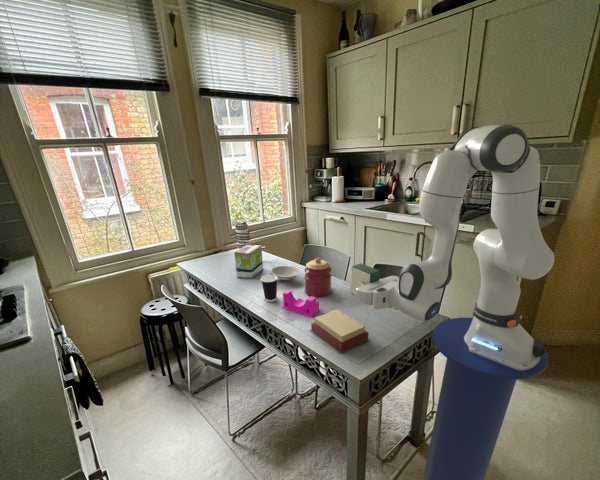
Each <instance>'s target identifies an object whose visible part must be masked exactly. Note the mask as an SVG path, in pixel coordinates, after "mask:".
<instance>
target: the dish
mask: <svg viewBox="0 0 600 480" xmlns="http://www.w3.org/2000/svg"><path fill="white" fill-rule="evenodd" d="M270 273H271V275H275V276H277V277H278V279H277V280H282V281H291V280H293V279H295V278H296V277H297V276H298V275H300V273H301V272H300V269H298V268H297V267H295V266H292V265H277V266H274V267H272V268H271V269H270Z"/></svg>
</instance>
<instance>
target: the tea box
mask: <svg viewBox="0 0 600 480" xmlns="http://www.w3.org/2000/svg"><path fill="white" fill-rule="evenodd" d="M234 261H235V272H236V277H237V278H244V279H245V278H246V279H253V278H254V277H255V276H256V275H257V274H259V273H260V272H261V271H262V270H263V269H264V263H263V249H262V245H257V244H250V245H245V246H244V247H242V248H240V249H239V250H238V249H237V250H236V251H234Z"/></svg>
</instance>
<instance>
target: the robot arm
mask: <svg viewBox="0 0 600 480" xmlns="http://www.w3.org/2000/svg"><path fill="white" fill-rule="evenodd" d="M529 142H530V141H529V139H528V135H527V134H526V133H525V131H524V130H522V129H521V128H520V127H517V126H515V125H511V124H504V125H503V124H488V125H487V124H486V125H483V126H475V127H472V128H469V129H467V130H465V131H464V132H462V133H461V134H460V135H459V136H458V137H457V139H456V140H455V142H454V143H453V145H452V146H451V147H450V149H448V150H445V151H442V152H439V154H438V155H436V156H435V157H434V159H433V161H432V163H431V166H430V168H429V170H428V172H427V175H426V178H425V180H424V183H423V187H422V191H421V194H420V198H419V203H418V212H419V214H420V215H419V216H420V217H421V218H422V219H423V220H424V222H426V223H427V224H428V225H430V226H432V228H433V229H434V233H435V235H434V240H433V246H432V251H431V255H430V256H429V258H428V259H426V260H423V261H415V262H412V263H407V264H405V265H404V266H403V267H402V268H401V270H400V272H399V276H397V275H390V276H387V277H383V278H379V280H378V281H375V282H373V283H370V284H367V285H364V282H362V281H361V282H358V286H359V288H356V290H355V296H354V297H355V299H356V300H357V301H359V302H361V303H362V304H365V305H368V306H372V308H373V309H375V310H381V309H394V310H396V311H401V312H402V313H403V314H404V315H406V316H409V317H410V318H413V319H416V320H419V321H424V322H426V321H430V320H431V319H433V318H434V317H435V316H436V315H437V314H438V313H439V311H440V309H441V302H440V300H439V299H438V298H437V295H436V292H435V290H441V289H444V288H445V287H447V286H448V285H449V284H450V282H451V280H452V276H453V267H452V266H453V265H452V260H453V256H454V251H455V246H456V243H457V238H458V234H459V228H460V213H461V208H462V204H463V201H464V197H465V194H466V190H467V188H468V184H469V182H470V180H471V178H473V176H474V175H475V174H476V173H477V172H478V171H480V172H482V171H485V172H490V173H491V176H492V186H491V202H490V204H491V205H490V217H491V220H492V222H493V223H494V225H495V226H496V228H487V229H484V230H482V231H480V232H479V234H477V236H476V237H475V239H474V241H473V246H472V248H473V251H474V253H475V255H476V257H477V259H478V264H479V271H480V287H479V292H478V297H477V302H476V303H475V304H474V307H473V313H472V318H473V320H472V323H471V325H470V327H469V330H468V331H467V333H466V334H465V336H464V341H465V343H466V344H467V345H468V347H469V351H470V352H471V353H474V354H476V355H479V356H482V357H484V358H487V359H489V360H492V361H495V362H497V363H500V364H502V365H505V366H507V367H510V368H513V369H515V370H518V371H524V370H529V369H531V368H533V367H535V366H536V365H537V364H538V363H539V361H540V357H541V356H542V355H544V353H545V351H546V349H545V348H544V340H543V339H539V338H535V337H534V338H533V337H532V336H531V334H530V333H528V332H527V330H526V329H525V328H524V327H523V326H522V325H521V324H520V321H521V320H522V319H523V314H521V315H520V316H519V314H518V313H517V307H518V303H519V299H520V296H521V292H522V291H521V290H522V289H521V285H520V283H519V282H518V280H517V277H518V278H522V279H526V280H532V281H534V280H538V279H540V278H543V277H544V276H546V275H547V274H548V273H549V272H550V271H551V270H552V268H553V266H554V264H555V254H554V252H553V251H552V249H551V248H550V247H549V245H548V244H547V243H546V240H545V239H544V236H543V234H542V231H541V227H540V223H539V217H538V207H539V196H540V195H539V194H540V184H541V161H540V153H539V151H538V150H537V149H536V148H535V147H533V146H530V143H529ZM533 339H534V340H533ZM544 349H545V350H544Z"/></svg>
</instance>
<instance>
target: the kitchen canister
mask: <svg viewBox="0 0 600 480" xmlns="http://www.w3.org/2000/svg"><path fill="white" fill-rule="evenodd" d="M304 272H305V274H304V283H305V284H304V291H305V293H306V294H307V295H308V296H309V297H310V296H312V297H316V298H321V297H326V296H328V295H330V294H331V292H332V274H331V272H332V267H331V264H330V263H329V262H328V261H326V260H325V259H321V258H320V257H316V258H315V259H312V260H310V261H308V262H307V263H306V264H305V268H304Z"/></svg>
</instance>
